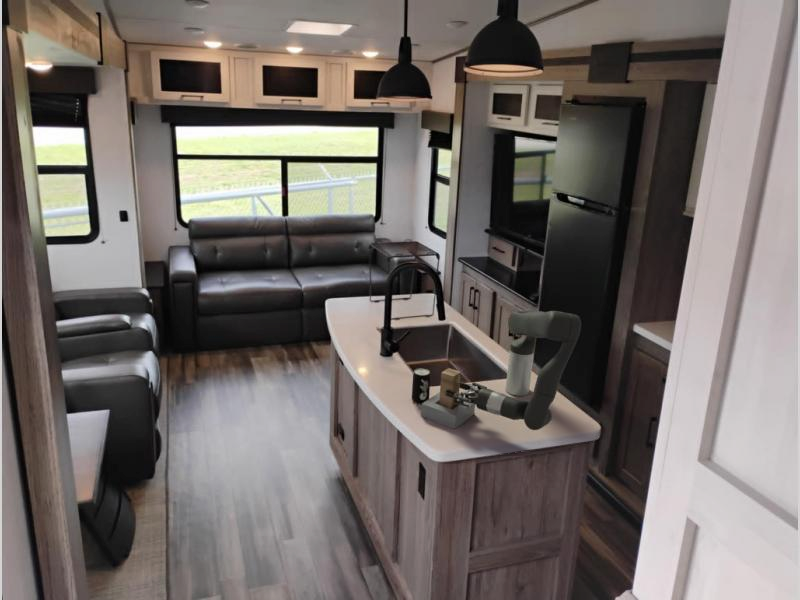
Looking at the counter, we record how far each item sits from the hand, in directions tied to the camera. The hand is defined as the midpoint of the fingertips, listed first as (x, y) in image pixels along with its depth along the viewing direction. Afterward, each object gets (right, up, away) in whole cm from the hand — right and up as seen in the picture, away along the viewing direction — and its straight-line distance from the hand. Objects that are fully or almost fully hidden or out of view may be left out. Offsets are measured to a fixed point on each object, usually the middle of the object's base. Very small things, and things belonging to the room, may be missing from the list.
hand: (452, 388), depth 222 cm
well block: (-1, -10, +4) cm, 11 cm away
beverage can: (-11, -7, +14) cm, 19 cm away
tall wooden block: (-1, -9, +4) cm, 10 cm away
